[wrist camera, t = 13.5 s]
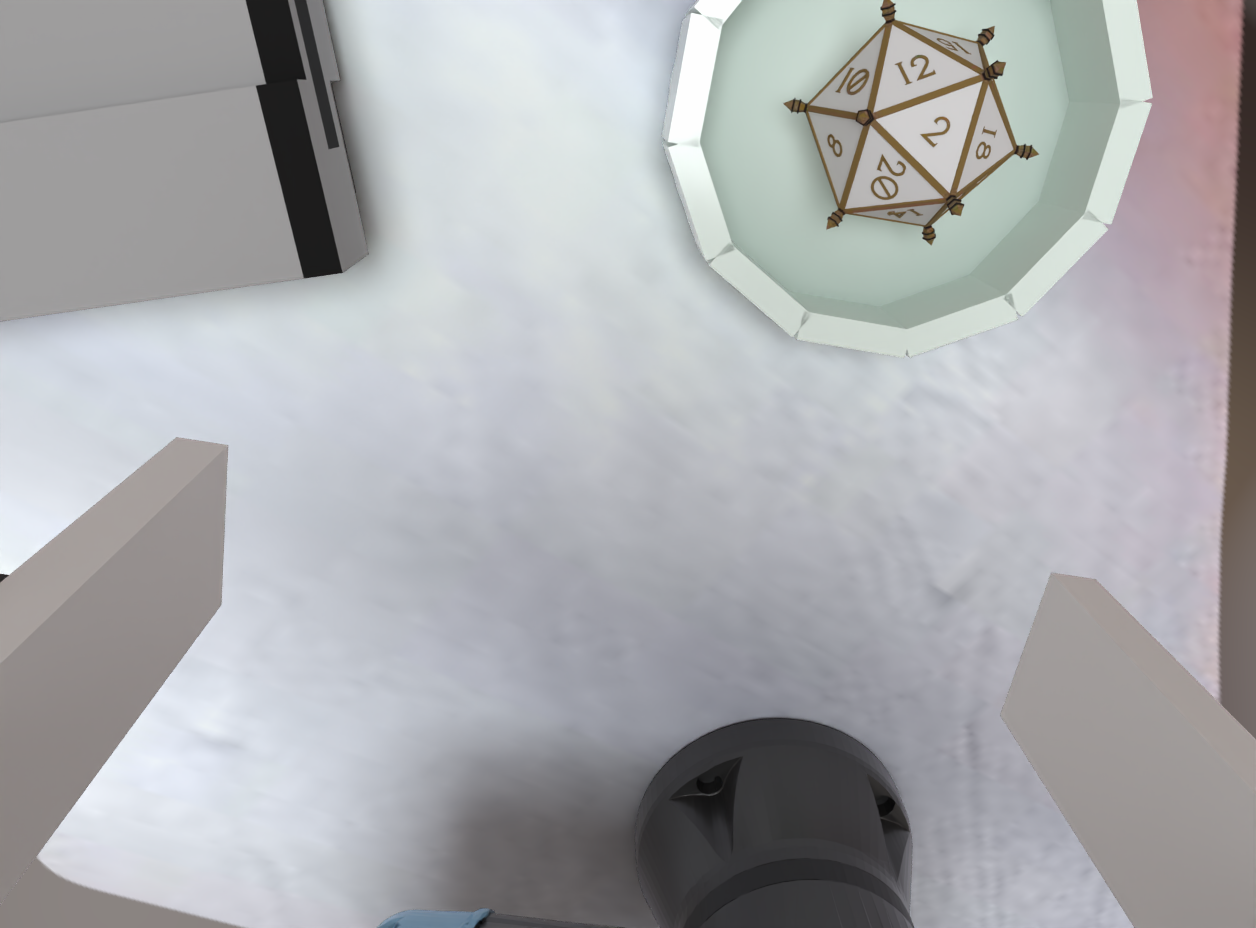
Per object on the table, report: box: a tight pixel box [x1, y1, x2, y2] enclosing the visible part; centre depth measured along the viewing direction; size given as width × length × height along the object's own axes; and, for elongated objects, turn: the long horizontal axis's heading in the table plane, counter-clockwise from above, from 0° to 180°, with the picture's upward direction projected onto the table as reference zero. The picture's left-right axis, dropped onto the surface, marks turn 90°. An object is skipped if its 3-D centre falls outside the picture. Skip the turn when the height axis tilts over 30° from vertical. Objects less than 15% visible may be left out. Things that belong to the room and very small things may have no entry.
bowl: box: [661, 0, 1153, 358], centre depth 41 cm, size 18×18×6 cm
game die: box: [783, 0, 1039, 246], centre depth 39 cm, size 9×8×10 cm
